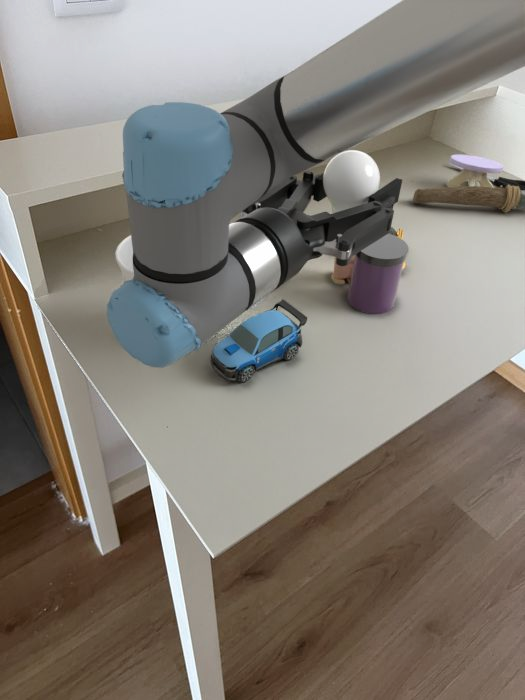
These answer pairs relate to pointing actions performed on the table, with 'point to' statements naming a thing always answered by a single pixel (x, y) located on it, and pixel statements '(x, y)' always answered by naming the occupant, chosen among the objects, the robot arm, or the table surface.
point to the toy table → (473, 170)
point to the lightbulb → (350, 179)
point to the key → (400, 235)
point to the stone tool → (474, 196)
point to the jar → (377, 275)
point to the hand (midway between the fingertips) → (370, 181)
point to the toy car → (259, 343)
